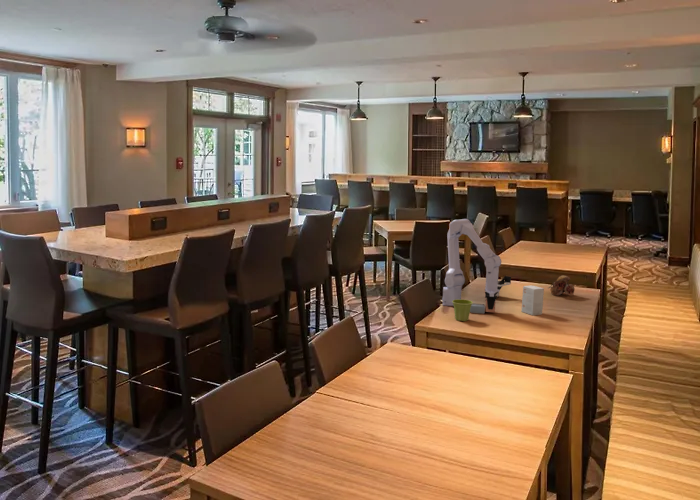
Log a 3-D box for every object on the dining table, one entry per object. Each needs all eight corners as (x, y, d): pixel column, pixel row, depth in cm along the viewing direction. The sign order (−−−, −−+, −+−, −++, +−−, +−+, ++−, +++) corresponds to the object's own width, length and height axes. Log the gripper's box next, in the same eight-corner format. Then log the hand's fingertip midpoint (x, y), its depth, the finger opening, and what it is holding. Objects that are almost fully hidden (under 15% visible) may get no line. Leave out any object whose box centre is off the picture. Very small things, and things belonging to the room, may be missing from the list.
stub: (485, 311, 298) (486, 301, 298) (485, 309, 303) (485, 299, 302) (494, 312, 298) (495, 302, 297) (494, 309, 302) (494, 299, 302)
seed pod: (542, 284, 338) (570, 279, 332) (543, 273, 352) (570, 267, 346) (548, 306, 341) (576, 300, 335) (549, 294, 355) (576, 288, 349)
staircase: (484, 298, 333) (486, 276, 331) (496, 295, 339) (497, 274, 337) (498, 301, 326) (500, 279, 324) (509, 299, 333) (511, 276, 331)
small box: (542, 314, 300) (544, 288, 298) (532, 315, 297) (534, 289, 295) (530, 310, 307) (532, 285, 305) (520, 311, 304) (522, 285, 302)
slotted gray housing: (467, 312, 300) (468, 305, 299) (467, 309, 305) (467, 303, 304) (484, 313, 299) (484, 306, 298) (484, 311, 303) (484, 304, 303)
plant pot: (459, 323, 280) (460, 304, 279) (447, 318, 288) (448, 300, 287) (475, 321, 284) (477, 302, 283) (463, 316, 293) (464, 298, 291)
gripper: (501, 284, 290) (499, 312, 292) (499, 278, 304) (497, 304, 307) (486, 283, 292) (484, 311, 294) (484, 277, 306) (483, 303, 308)
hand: (490, 307), depth 300 cm, fingers closed on stub, 5 cm apart
